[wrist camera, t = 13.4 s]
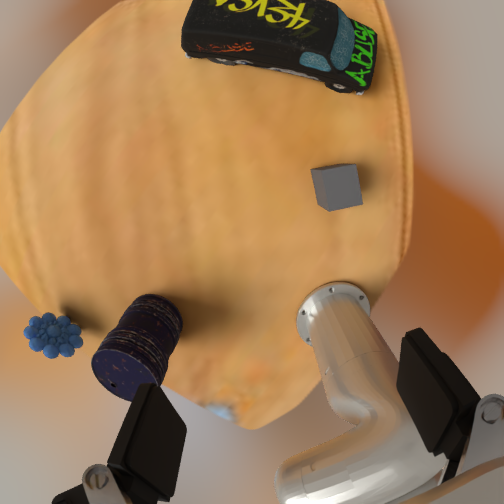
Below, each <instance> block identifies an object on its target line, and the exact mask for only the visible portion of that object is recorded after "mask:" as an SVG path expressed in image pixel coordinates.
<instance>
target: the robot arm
mask: <svg viewBox="0 0 504 504" xmlns="http://www.w3.org/2000/svg"><path fill="white" fill-rule="evenodd" d="M330 288H331V289H330ZM303 310H304V311H303ZM369 317H370V303H369V300H368V298H367V296H366V295H365V294H364V292H363V291H362V290H361V289H360V288H358V287H357V286H355V285H353V284H350V283H346V282H333V283H328V284H325V285H323V286H320V287H319V288H317V289H315V290H314V291H312V292H311V293H310V294H309V295H308V296H307V297H306V298H305V299H304V300H303V302H302V303H301V305H300V307H299V309H298V312H297V317H296V326H297V330H298V333H299V335H300V337H301V338H302V339H303V341H304V342H306V343H307V344H308V345H310V346H312V347H313V349H314V353H315V356H316V360H317V363H318V367H319V370H320V374H321V377H322V381H323V384H324V388H325V391H326V395H327V399H328V402H329V404H330V407H331V408H332V410H333V411H334V412H335V413H336V414H337V415H338V416H339V417H340V418H342V419H343V420H345V421H347V422H349V423H352V424H354V425H357V426H356V427H354V428H353V429H351V430H349V431H347V432H345V433H344V434H342V435H340V436H338V437H336V438H334V439H331V440H329V441H327V442H325V443H322V444H320V445H318V446H316V447H313V448H310V449H308V450H306V451H303V452H301V453H299V454H296V455H294V456H292V457H290V458H289V459H287V460H286V461H284V462H283V463H282V464H281V465H280V467H279V468H278V470H277V472H276V474H275V479H274V486H275V492H276V495H277V498H278V500H279V503H280V504H504V397H503V396H501V395H498V394H490V395H487V396H485V397H484V398H482V399H481V398H480V396H479V395H478V394H477V392H476V391H475V390H474V388H473V387H472V386H471V384H470V383H469V382H468V380H467V379H466V378H465V376H464V375H463V374H462V373H461V371H460V370H459V369H458V367H457V366H456V365H455V364H454V362H453V361H452V360H451V359H450V358H449V356H447V354H445V353H443V352H441V351H440V350H439V348H438V347H437V346H436V345H435V343H434V342H433V341H432V340H431V339H430V338H429V337H428V335H427V334H426V333H425V332H424V331H423V329H422V328H416V329H414V330H411V331H408V332H406V334H405V337H403V338H402V343H401V352H400V361H399V362H398V361H397V359H396V358H395V356H394V354H393V353H392V351H391V349H390V348H389V346H388V345H387V343H386V342H385V340H384V339H383V337H382V336H381V334H380V333H379V331H378V330H377V328H376V327H375V325H374V324H373V322H372V321H371V319H370V318H369ZM186 433H187V428H186V425H185V423H184V422H183V420H182V419H181V417H180V416H179V414H178V413H177V412H176V410H175V409H174V407H173V406H172V404H171V403H170V401H169V400H168V398H167V397H166V395H165V393H164V392H163V390H162V389H161V387H160V386H157V385H156V384H155V383H141V384H140V385H139V387H138V389H137V391H136V394H135V396H134V398H133V400H132V403H131V405H130V407H129V410H128V412H127V414H126V417H125V419H124V421H123V424H122V427H121V429H120V431H119V433H118V436H117V438H116V441H115V443H114V446H113V448H112V451H111V453H110V456H109V458H108V461H107V463H108V464H107V466H105V465H102V464H95V465H92V466H90V467H88V468H87V469H86V471H85V472H84V474H83V477H82V484H80V485H78V486H76V487H74V488H72V489H70V490H67V491H65V492H63V493H61V494H58V495H57V496H55V498H54V499H53V501H52V504H157V501H164V502H169V501H170V497H172V496H173V495H174V492H175V487H176V481H177V477H178V472H179V467H180V462H181V456H182V452H183V447H184V442H185V437H186ZM444 465H445V467H444ZM443 467H444V469H442V468H443Z"/></svg>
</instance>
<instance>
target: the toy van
mask: <svg viewBox="0 0 504 504" xmlns="http://www.w3.org/2000/svg"><path fill="white" fill-rule="evenodd" d="M181 47H182V49H183V50H184V51H185V52H186V54H185V56H186V57H187V58H189V59H191V57H194V58H208V59H209V60H210V61H212V62H214V63H219V64H221V63H222V64H224V65H233V66H234V65H235V64H236V63H239V64H245V65H250V66H255V67H260V68H264V69H270V70H275V71H280V72H285V73H290V74H294V75H299V76H303V77H307V78H310V79H314V80H318V81H322V82H325V85H326V87H328V88H329V89H332V90H334V91H336V92H339V93H351V92H352V91H353V90H355V91H356V95H362V94H363V93H364V90H367V89H368V88H369V86H370V85H371V81H372V77H373V73H374V67H375V62H376V54H377V34H376V33H375V32H374V30H372V29H371V28H369V27H367V26H365V25H363V24H361V23H359V22H357V21H355V20H353V19H350V18H348V17H347V16H346V15H345V13H344V12H343V11H342V10H341V9H340V8H339V7H338V6H337V5H336V4H335V3H332V2H330V1H327V0H193V1H192V3H191V6H190V8H189V11H188V13H187V16H186V18H185V21H184V24H183V27H182V36H181Z"/></svg>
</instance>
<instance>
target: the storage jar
mask: <svg viewBox="0 0 504 504" xmlns="http://www.w3.org/2000/svg"><path fill="white" fill-rule="evenodd" d="M182 327H183V321H182V317H181V314H180V312H179V311H178V309H177V308H176V307H175V305H174V304H173V303H171V302H170V301H169V300H167V299H166V298H164V297H162V296H159V295H154V294H145V295H142V296H140V297H138V298H136V299H135V300H134V302H133V303H132V304H131V305H130V306H129V307H128V308H127V310H126V311H125V312H124V314H123V316H122V317H121V319H120V321H119V324H118V325H117V326H116V328H114V329H113V330H112V331H111V332H109V333H108V335H107V336H106V338H105V339H104V340H103V342H102V343H101V344H100V347H99V348H98V350H97V351H96V353H95V354H94V355H93V357H92V360H91V366H92V370H93V373H94V375H95V376H96V378H97V379H98V381H99V382H100V383H101V384H102V385H103V386H104V387H105V388H106V389H107V390H108V391H110V392H111V393H112V394H114V395H116V396H118V397H119V398H122V399H124V400H127V401H130V402H132V400H133V398H134V396H135V394H136V391H137V389H138V387H139V385H140V384H141V383H155V384H156V385H157V386H161V384H162V382H163V380H164V377H165V374H166V371H167V369H168V360H169V357H170V355H171V354H172V353H173V351H174V349H175V347H176V345H177V343H178V340H179V336H180V333H181V331H182Z"/></svg>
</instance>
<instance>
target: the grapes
mask: <svg viewBox="0 0 504 504" xmlns="http://www.w3.org/2000/svg"><path fill="white" fill-rule="evenodd" d="M29 325H30V326H27V327H26V328H25V329H24V335H25V337H26V338H28V339H30V341H29V347H30V348H31V349H32V350H34V351H36V352H38V351H41V350H43V353H44V355H45V356H46V357H48V358H50V359H52V358H56V357H58V355H59V353H60V354H61V355H62V356H64V357H71V356H72V355H74V352H75V350H74V348H80V347H81V346H82V345H83V339H82V338H81V337H80V336H79V335H80V334H81V328H80V327H79V326H78V325H76V324H71V321H70V319H69V318H68V317H67V316H59V317H58V318H57V320H56V317H55V315H54V314H52V313H49V312H48V313H45V314H43V316H42V318H40V317H38V316H34V317H32V318H31V319H30V320H29Z"/></svg>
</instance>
